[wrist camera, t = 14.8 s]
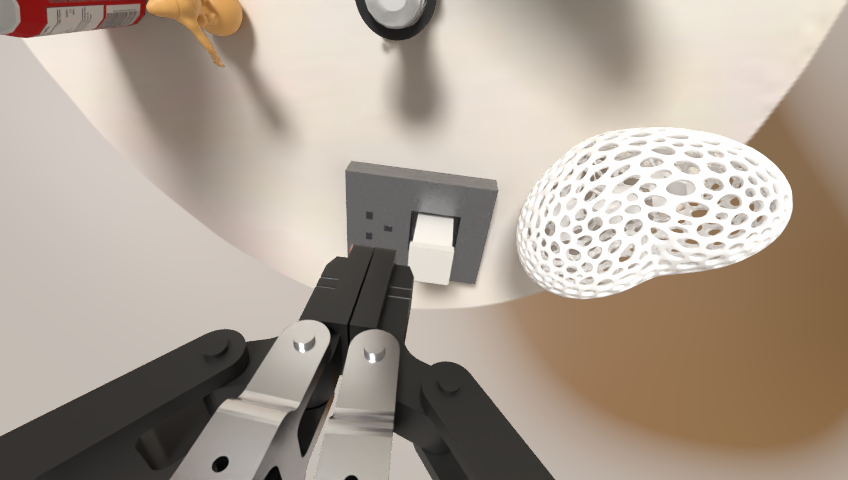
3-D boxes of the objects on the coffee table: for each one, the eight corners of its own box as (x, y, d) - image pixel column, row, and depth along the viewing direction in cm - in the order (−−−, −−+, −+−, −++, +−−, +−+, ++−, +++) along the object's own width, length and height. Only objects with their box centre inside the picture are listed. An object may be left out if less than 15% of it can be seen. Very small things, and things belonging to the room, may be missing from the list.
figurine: (182, -40, 31) (50, -52, 21) (241, -67, 29) (129, -93, 20) (235, 63, 35) (147, 93, 25) (289, 44, 34) (218, 69, 24)
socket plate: (353, 254, 47) (347, 268, 45) (351, 161, 40) (344, 172, 37) (474, 270, 47) (475, 286, 45) (496, 180, 40) (498, 193, 37)
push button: (404, 53, 33) (384, 75, 25) (358, 6, 32) (321, 13, 23) (456, -11, 30) (453, -9, 22) (409, -67, 28) (386, -88, 20)
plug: (415, 236, 45) (406, 279, 38) (418, 205, 42) (409, 246, 35) (450, 241, 44) (448, 285, 38) (455, 210, 42) (454, 251, 35)
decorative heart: (682, 68, 32) (850, 133, 18) (693, 171, 37) (831, 283, 23) (488, 151, 38) (502, 247, 24) (521, 229, 43) (548, 347, 29)
